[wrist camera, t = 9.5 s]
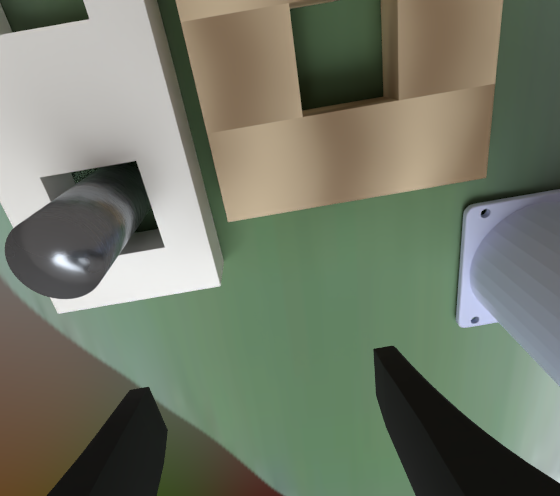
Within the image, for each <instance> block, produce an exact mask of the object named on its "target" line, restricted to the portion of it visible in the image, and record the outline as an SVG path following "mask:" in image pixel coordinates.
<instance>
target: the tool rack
mask: <svg viewBox="0 0 560 496" xmlns="http://www.w3.org/2000/svg"><path fill="white" fill-rule="evenodd" d="M83 1H84V4H85V7H86V10H87V13H88V16H89V19H87V20H81V21H76V22H70V23H64V24H59V25H53V26H47V27H42V28H36V29H30V30H25V31H19V32H12V30H11V27H10V25H9V23H8V20H7V18H6V15H5V13H4V11H3V8H2V6H1V3H0V203H1V205H2V206H3V208H4V210H5V212H6V214H7V216H8V218H9V220H10V222H11V224H12V226H13V228H14V227H15V226H17V225H18V224H20V223H21V222H22V221H24V220H25V219H27V218H28V217H30V216H31V215H32V214H34V213H35V212H37V211H38V210H40V209H41V208H43V207H44V206H45V205H47V204H48V203H50V202H51V201H53V200H54V199H55V198H57V197H58V196H60V195H61V194H63V193H64V192H65V191H67V190H68V189H70V188H71V187H73V186H74V185H75V181H74V179H73V177H72V174H71V172H75V171H81V170H86V169H92V168H98V167H104V166H109V165H115V164H121V163H127V162H133V161H136V162H137V165H138V168H139V171H140V174H141V177H142V180H143V183H144V186H145V189H146V192H147V195H148V198H149V201H150V204H151V207H152V210H153V213H154V216H155V219H156V222H157V225H158V228H159V229H155V230H149V231H143V232H137V233H134V234H133V235H132V237H131V238H130V239H129V241H128V242H127V244H126V245H125V247H124V248H123V250H122V251H121V253H120V254H119V256H118V257H117V258H116V260H115V261H114V263H113V264H112V266H111V267H110V269H109V270H108V272H107V273H106V275H105V276H104V277H103V279H102V280H101V282H100V283H99V285H98V286H97V287H96V288H95V289H94V290H93V291H92V292H90V293H88V294H87V295H84V296H82V297H79V298H74V299H56V298H51V297H50V298H51V300H52V302H53V304H54V306H55V308H56V310H57V312H58V314H59V313H65V312H71V311H77V310H83V309H89V308H95V307H100V306H106V305H112V304H118V303H124V302H130V301H136V300H141V299H147V298H153V297H159V296H165V295H171V294H177V293H183V292H188V291H194V290H200V289H206V288H212V287H218V286H221V279H222V272H223V264H224V260H223V256H222V252H221V248H220V244H219V240H218V237H217V233H216V229H215V225H214V221H213V217H212V213H211V209H210V205H209V201H208V197H207V193H206V190H205V186H204V182H203V178H202V174H201V170H200V166H199V162H198V158H197V154H196V150H195V146H194V143H193V139H192V135H191V131H190V127H189V123H188V119H187V115H186V111H185V107H184V103H183V99H182V96H181V92H180V88H179V84H178V80H177V76H176V72H175V68H174V64H173V60H172V56H171V52H170V49H169V45H168V41H167V37H166V33H165V29H164V25H163V21H162V17H161V13H160V9H159V6H158V2H157V0H83Z"/></svg>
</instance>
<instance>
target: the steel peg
mask: <svg viewBox="0 0 560 496" xmlns="http://www.w3.org/2000/svg"><path fill="white" fill-rule="evenodd" d="M150 209H151V204H150V201H149V198H148V195H147V192H146V189H145V186H144V183H143V180H142V177H141V174H140V171H139V169H137V168H136V167H134V166H132V165H129V164H126V163H121V164H115V165H109V166H104V167H100V168H98V169H97V170H95V171H94V172H93V173H91V174H90V175H88V176H87V177H85V178H84V179H83V180H81V181H80V182H78V183H77V184H75V185H74V186H73V187H71V188H70V189H68V190H67V191H65V192H64V193H63V194H61V195H60V196H58V197H57V198H55V199H54V200H53V201H51V202H50V203H48V204H47V205H45V206H44V207H43V208H41V209H40V210H38V211H37V212H35V213H34V214H32V215H31V216H30V217H28V218H27V219H25V220H24V221H22V222H21V223H20V224H18V225H17V226H15V227H14V228H13V229H12V231H11V232H10V233H9V235H8V237H7V240H6V243H5V256H6V260H7V262H8V265H9V267H10V269H11V271H12V272H13V273H14V275H15V276H16V277H17V278H18V279H19V280H20V281H21V282H22V283H23V284H24V285H25V286H27V287H28V288H30V289H31V290H33V291H35V292H37V293H39V294H41V295H44V296H47V297H51V298H56V299H74V298H79V297H82V296H84V295H87V294H88V293H90V292H92V291H93V290H94V289H95V288H96V287H97V286H98V285H99V283H100V282H101V280H102V279H103V277H104V276H105V275H106V273H107V272H108V270H109V269H110V267H111V266H112V264H113V263H114V261H115V260H116V258H117V257H118V256H119V254H120V253H121V251H122V250H123V248H124V247H125V245H126V244H127V242H128V241H129V239H130V238H131V237H132V235H133V234H134V232H135V231H136V229H137V228H138V226H139V225H140V223H141V222H142V220H143V219H144V218H145V216H146V215H147V213H148V212H149V210H150Z"/></svg>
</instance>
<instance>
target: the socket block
mask: <svg viewBox="0 0 560 496" xmlns="http://www.w3.org/2000/svg"><path fill="white" fill-rule="evenodd" d="M333 1H338V0H176V4H177V8H178V13H179V17H180V21H181V25H182V30H183V34H184V38H185V42H186V46H187V51H188V55H189V59H190V63H191V68H192V72H193V76H194V80H195V85H196V89H197V93H198V97H199V101H200V106H201V110H202V114H203V118H204V123H205V127H206V131H207V135H208V139H209V144H210V148H211V152H212V156H213V161H214V165H215V169H216V173H217V177H218V182H219V186H220V190H221V194H222V199H223V203H224V207H225V211H226V215H227V220H228V222H232V221H237V220H243V219H249V218H255V217H261V216H267V215H272V214H278V213H284V212H290V211H296V210H302V209H307V208H313V207H319V206H325V205H331V204H336V203H342V202H348V201H354V200H360V199H366V198H371V197H377V196H383V195H389V194H395V193H401V192H406V191H412V190H418V189H424V188H430V187H436V186H441V185H447V184H453V183H459V182H465V181H470V180H476V179H482V178H486V174H487V164H488V153H489V143H490V132H491V122H492V112H493V101H494V91H495V80H496V70H497V59H498V49H499V38H500V28H501V17H502V7H503V0H381V29H382V64H383V97H378V98H372V99H366V100H360V101H354V102H349V103H343V104H337V105H331V106H326V107H320V108H314V109H308V110H303V111H302V107H301V98H300V90H299V82H298V74H297V66H296V57H295V49H294V41H293V33H292V25H291V16H290V9H293V8H298V7H304V6H310V5H316V4H321V3H327V2H333Z"/></svg>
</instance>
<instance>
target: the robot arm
mask: <svg viewBox="0 0 560 496" xmlns="http://www.w3.org/2000/svg"><path fill="white" fill-rule="evenodd" d="M484 209H486V212H485V213H484V214H483V215H481V212H482V211H483V210H484ZM473 317H475V318H474V319H472V318H473ZM471 319H472V320H471ZM456 322H457V323H458V325H459V326H460V327H462V328H467V327H472V326H478V325H484V324H490V323H496V322H499V323H500V324H501V325H502V326H503V327H504V329H505V330H506V331H507V332H508V333H509V334H510V335H511V336H512V337H513V338H514V339H515V340H516V341H517V342H518V343H519V344H520V345H521V346H522V347H523V348H524V350H525V351H526V352H527V353H528V354H529V355H530V356H531V357H532V358H533V359H534V360H535V361H536V362H537V363H538V364H539V365H540V366H541V367H542V368H543V369H544V371H545V372H546V373H547V374H548V375H549V376H550V377H551V378H552V379H553V380H554V381H555V382H556V383H557V384H558V385H559V386H560V189H557V190H551V191H545V192H540V193H534V194H528V195H522V196H516V197H510V198H505V199H499V200H493V201H487V202H481V203H475V204H472V205H469V206H468V207H467V208H466V209H465V210H464V213H463V225H462V240H461V254H460V268H459V282H458V296H457V311H456ZM374 366H375V384H376V396H377V400H378V403H379V406H380V409H381V413H382V416H383V419H384V422H385V425H386V428H387V430H388V433H389V435H390V437H391V440H392V442H393V444H394V447H395V449H396V451H397V453H398V456H399V458H400V460H401V463H402V465H403V467H404V470H405V472H406V474H407V476H408V479H409V481H410V483H411V486H412V488H413V490H414V493H415V495H416V496H560V483H558V482H557V481H555V480H554V479H552V478H551V477H549V476H547V475H546V474H544V473H543V472H541V471H540V470H538V469H537V468H535V467H533V466H532V465H530V464H529V463H527V462H526V461H524V460H523V459H522V458H520V457H519V456H517V455H516V454H514V453H513V452H512V451H510V450H509V449H507V448H506V447H505V446H503V445H502V444H501V443H499V442H498V441H497V440H495V439H494V438H493V437H491V436H490V435H489V434H487V433H486V432H485V431H484V430H482V429H481V428H480V427H478V426H477V425H476V424H475V423H474V422H472V421H471V420H470V419H469V418H468V417H466V416H465V415H464V414H463V413H462V412H461V411H459V410H458V409H457V408H456V407H455V406H454V405H452V404H451V403H450V402H449V401H448V400H447V399H446V398H445V397H444V396H443V395H442V394H440V393H439V392H438V391H437V390H436V389H435V388H434V387H433V386H432V385H431V384H430V383H429V382H428V381H427V380H426V379H425V378H424V377H423V376H422V375H421V374H420V373H419V372H418V371H417V370H416V369H415V368H414V367H413V366H412V365H411V364H410V363H409V362H408V361H407V360H406V359H405V357H404V356H403V355H402V354H401V353H400V352H399V351H398V350H397V348H395V347H394V346H388V347H382V348H376V349H374ZM167 431H168V430H167V428H166V425H165V423H164V421H163V418H162V416H161V414H160V411H159V409H158V407H157V404H156V402H155V400H154V398H153V395H152V393H151V391H150V388H149V387H145V388H139V389H133V390H130V391H129V392H128V393H127V395H126V396H125V397H124V399H123V400H122V401H121V403H120V404H119V405H118V406H117V408H116V409H115V411H114V412H113V413H112V415H111V416H110V417H109V419H108V420H107V421H106V423H105V424H104V425H103V427H102V428H101V429H100V431H99V432H98V433H97V435H96V436H95V437H94V438H93V440H92V441H91V442H90V444H89V445H88V446H87V448H86V449H85V450H84V451H83V453H82V454H81V455H80V456H79V458H78V459H77V460H76V462H75V463H74V464H73V465H72V466H71V467H70V469H69V470H68V471H67V472H66V473H65V475H64V476H63V477H62V478H61V480H60V481H59V482H58V483H57V484H56V485H55V487H54V488H53V489H52V490H51V491H50V492H49V494H48V495H47V496H156V495H157V491H158V487H159V482H160V478H161V474H162V469H163V464H164V457H165V450H166V440H167Z"/></svg>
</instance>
